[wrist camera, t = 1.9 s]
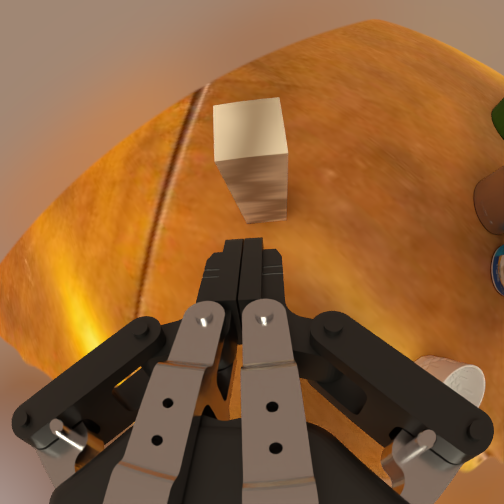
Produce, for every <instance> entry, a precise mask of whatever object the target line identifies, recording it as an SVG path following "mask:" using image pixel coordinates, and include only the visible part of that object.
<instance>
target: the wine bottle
mask: <svg viewBox="0 0 504 504" xmlns="http://www.w3.org/2000/svg"><path fill="white" fill-rule="evenodd" d="M492 121H493V124H494V126H495V128H496V130H497V131H498V133H499V134H500V136H501V137H502V138H503V139H504V98H503V99H502V100H501V101H500V102H499V104H498V105H497V106H496V107H495V108H494V109H493V111H492Z"/></svg>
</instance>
